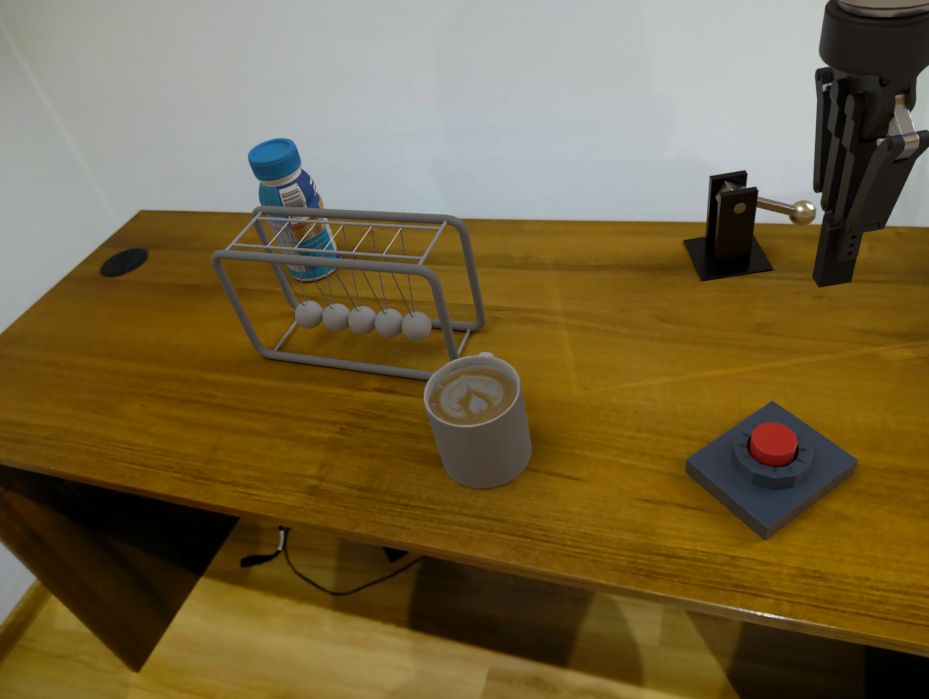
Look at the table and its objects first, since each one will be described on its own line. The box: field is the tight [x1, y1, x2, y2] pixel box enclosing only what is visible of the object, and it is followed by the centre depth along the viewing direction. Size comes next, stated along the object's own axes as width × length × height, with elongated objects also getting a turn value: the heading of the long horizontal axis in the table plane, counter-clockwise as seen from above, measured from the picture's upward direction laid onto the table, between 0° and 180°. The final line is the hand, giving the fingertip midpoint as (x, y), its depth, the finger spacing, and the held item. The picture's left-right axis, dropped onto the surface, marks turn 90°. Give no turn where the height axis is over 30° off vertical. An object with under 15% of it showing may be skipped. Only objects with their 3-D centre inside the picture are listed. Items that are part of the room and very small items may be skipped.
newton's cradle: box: [210, 205, 487, 382], centre depth 89 cm, size 30×10×18 cm, turn 71°
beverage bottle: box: [247, 137, 342, 282], centre depth 104 cm, size 8×8×20 cm
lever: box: [715, 181, 818, 227], centre depth 89 cm, size 13×3×3 cm, turn 92°
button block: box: [684, 400, 859, 542], centre depth 69 cm, size 12×10×4 cm
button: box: [750, 423, 797, 467], centre depth 68 cm, size 4×4×2 cm
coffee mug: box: [423, 351, 533, 490], centre depth 76 cm, size 13×10×10 cm
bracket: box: [683, 169, 774, 282], centre depth 91 cm, size 9×9×12 cm
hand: (831, 279), depth 62 cm, fingers closed
